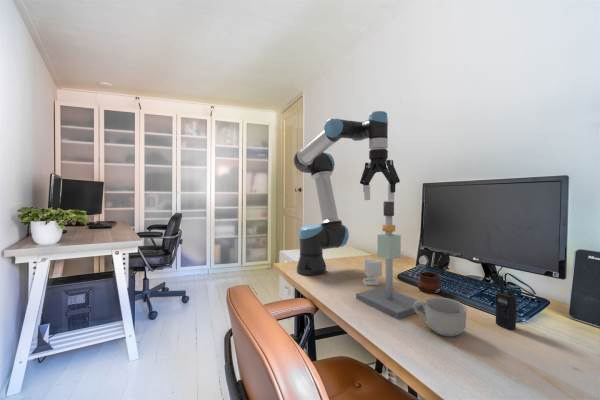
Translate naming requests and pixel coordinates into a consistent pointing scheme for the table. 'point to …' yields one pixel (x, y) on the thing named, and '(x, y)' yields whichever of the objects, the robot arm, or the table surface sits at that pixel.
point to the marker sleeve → (389, 246)
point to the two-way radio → (505, 307)
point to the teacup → (443, 315)
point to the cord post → (389, 282)
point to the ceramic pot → (429, 282)
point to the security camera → (372, 271)
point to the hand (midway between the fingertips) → (378, 200)
